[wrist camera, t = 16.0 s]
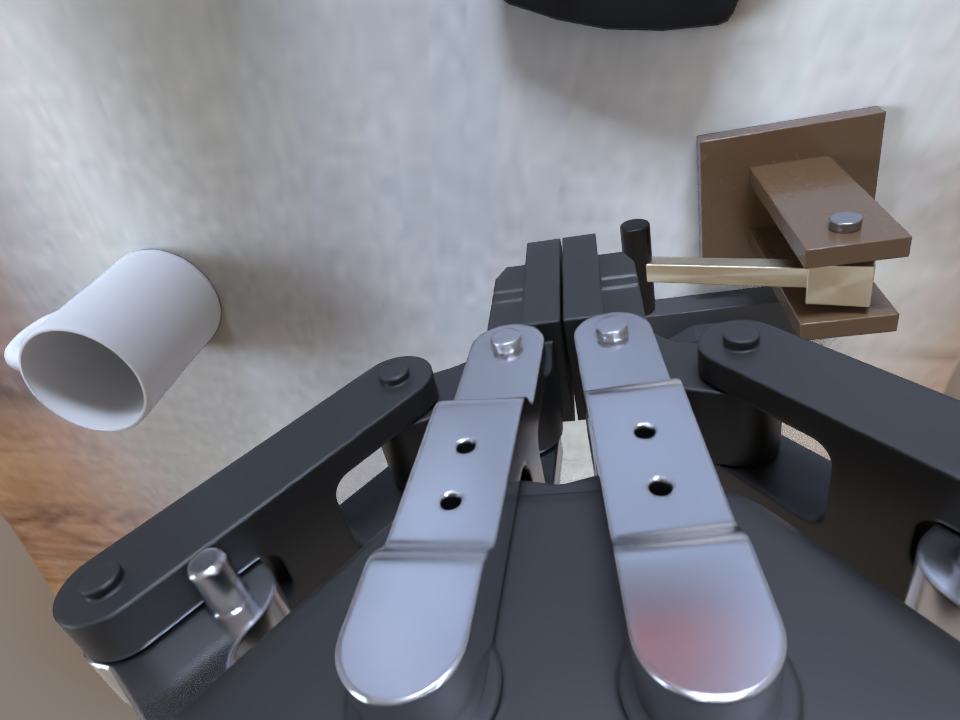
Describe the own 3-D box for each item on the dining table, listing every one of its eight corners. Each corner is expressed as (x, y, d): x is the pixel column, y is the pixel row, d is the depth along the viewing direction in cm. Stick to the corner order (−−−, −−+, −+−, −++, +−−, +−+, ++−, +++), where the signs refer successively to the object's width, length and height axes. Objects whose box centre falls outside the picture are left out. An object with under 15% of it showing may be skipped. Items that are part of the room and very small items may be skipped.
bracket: (699, 268, 45) (739, 379, 35) (696, 135, 40) (742, 218, 30) (860, 247, 43) (954, 359, 33) (877, 105, 38) (993, 182, 28)
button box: (623, 403, 52) (626, 437, 49) (612, 304, 47) (616, 334, 44) (786, 388, 50) (801, 423, 47) (792, 283, 45) (810, 313, 42)
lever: (633, 299, 40) (622, 320, 38) (626, 215, 37) (614, 234, 35) (867, 310, 34) (866, 335, 33) (880, 212, 32) (879, 234, 30)
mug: (205, 248, 48) (122, 327, 39) (234, 346, 53) (166, 436, 44) (53, 247, 50) (-61, 323, 41) (95, 342, 55) (2, 430, 46)
